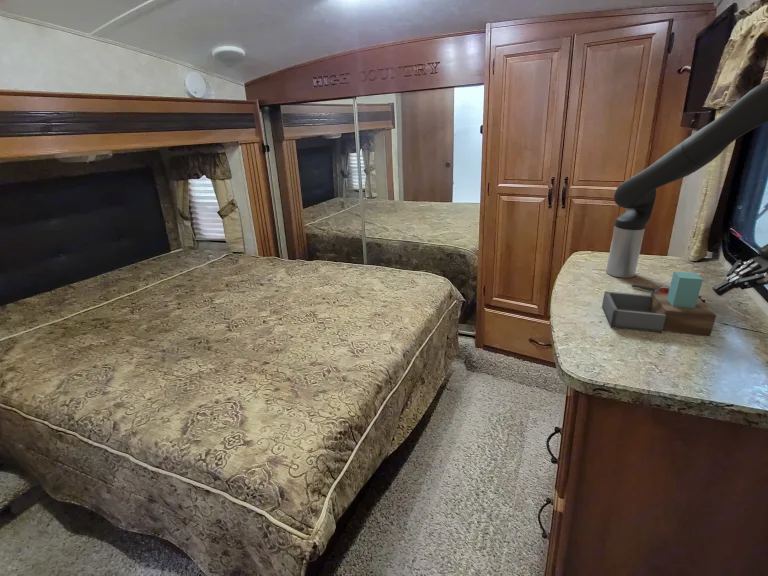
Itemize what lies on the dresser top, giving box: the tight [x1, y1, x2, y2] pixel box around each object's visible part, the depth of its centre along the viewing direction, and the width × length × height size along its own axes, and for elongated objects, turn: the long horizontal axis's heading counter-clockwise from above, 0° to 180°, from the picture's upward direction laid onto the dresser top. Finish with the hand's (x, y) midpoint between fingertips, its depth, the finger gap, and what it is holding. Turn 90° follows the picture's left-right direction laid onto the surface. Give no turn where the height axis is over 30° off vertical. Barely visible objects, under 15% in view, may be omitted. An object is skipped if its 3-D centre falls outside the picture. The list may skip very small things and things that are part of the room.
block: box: [667, 271, 704, 308], centre depth 108 cm, size 5×5×8 cm
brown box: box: [649, 293, 717, 337], centre depth 111 cm, size 12×11×6 cm
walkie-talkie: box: [631, 283, 706, 304], centre depth 127 cm, size 9×4×20 cm
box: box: [601, 291, 666, 334], centre depth 114 cm, size 14×12×5 cm
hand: (715, 292), depth 106 cm, fingers closed
